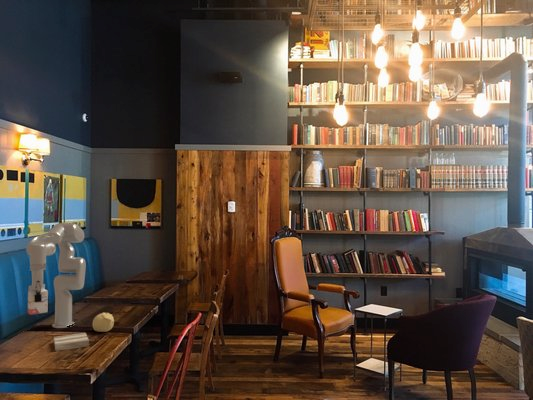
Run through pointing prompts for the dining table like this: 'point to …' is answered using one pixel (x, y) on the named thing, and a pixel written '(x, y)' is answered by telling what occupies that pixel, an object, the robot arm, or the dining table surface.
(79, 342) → the stand
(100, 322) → the sculpture
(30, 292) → the ink cartridge box
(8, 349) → the dining table surface
